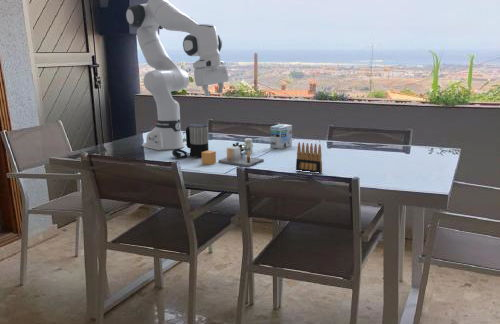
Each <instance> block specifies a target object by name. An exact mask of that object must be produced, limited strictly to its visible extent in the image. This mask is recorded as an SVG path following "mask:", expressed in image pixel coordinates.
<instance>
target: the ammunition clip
mask: <svg viewBox="0 0 500 324" xmlns="http://www.w3.org/2000/svg"><path fill="white" fill-rule="evenodd" d="M309 145H310V146H309ZM296 151H297V152H296V159H295V160H296V162H295V171H296V170H302V171H310V172H319V173H321V172H322V173H323V162H322V160H323V159H322V156H323V155H322V146H321V144H320V143H319V145H318V146H317V143H315V144H314V146H313V143H310V144H309V142H307V143H306V146H305V141H304V142H302V144H301V142H298V143H297V150H296ZM322 173H321V174H322Z"/></svg>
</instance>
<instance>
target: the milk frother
mask: <svg viewBox="0 0 500 324" xmlns="http://www.w3.org/2000/svg"><path fill="white" fill-rule="evenodd" d="M185 141H186V148H188V149H189V152H188V151H185V150H183V149H181V148H178V149H172V156H173V157H175V158H177V159H185V158H187V157H188V155H189V157H191V158H197V159H198V158H200V159H202V152H204V151H210V150H209V123H204V122H202V123H200V122H199V123H198V122H197V123H190V124H188V126H187V127H186V128H185ZM182 154H184V155H182Z"/></svg>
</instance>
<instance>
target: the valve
mask: <svg viewBox="0 0 500 324" xmlns="http://www.w3.org/2000/svg"><path fill="white" fill-rule="evenodd" d="M232 146H234V147H240V153H241V156H244V155H243V152H244V153H246V154H247V152H250V154H252V153H253V151H254V149H253V147H254V144H253V138H248V137H247V138H244V143H243V144H240V143H239V142H236V143H232Z"/></svg>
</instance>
